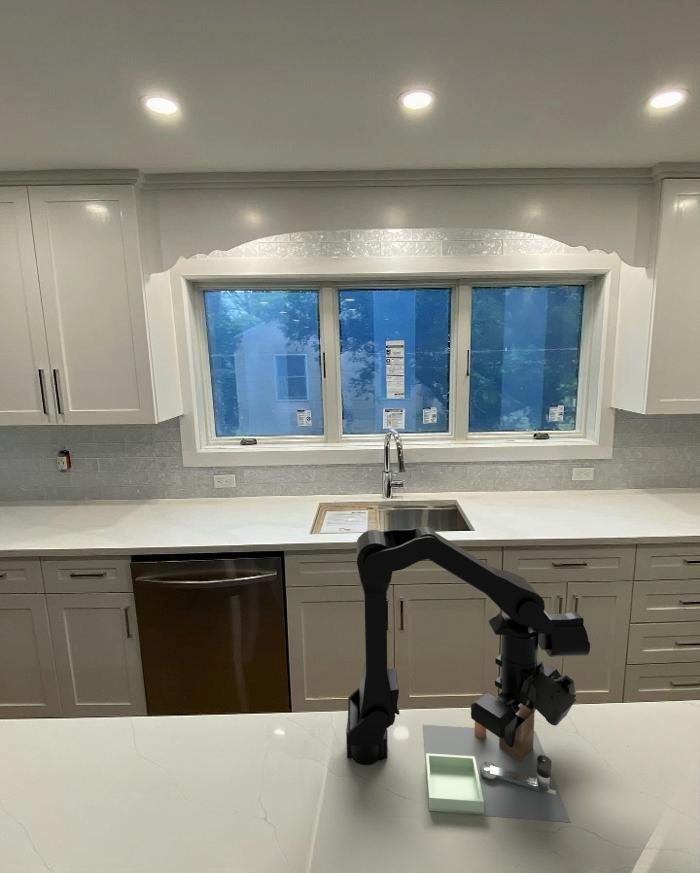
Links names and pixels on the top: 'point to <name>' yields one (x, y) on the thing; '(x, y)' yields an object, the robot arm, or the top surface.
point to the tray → (454, 784)
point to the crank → (539, 783)
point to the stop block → (522, 735)
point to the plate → (497, 793)
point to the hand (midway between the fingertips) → (516, 738)
